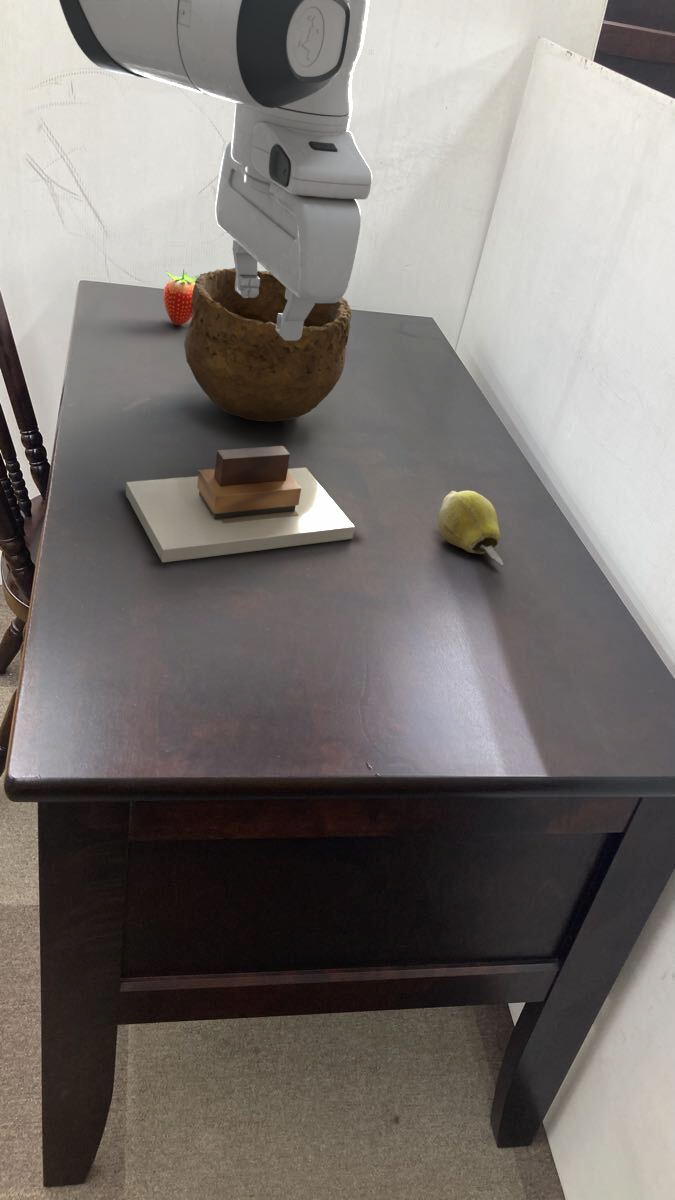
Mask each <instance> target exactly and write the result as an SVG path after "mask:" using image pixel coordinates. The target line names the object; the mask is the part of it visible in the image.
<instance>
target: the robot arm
mask: <svg viewBox="0 0 675 1200" xmlns="http://www.w3.org/2000/svg"><path fill="white" fill-rule="evenodd" d="M58 1H59V4H60V8H61V10H62V14H63V16H64V19H65V21H66V24H67V27H68V29H69V31H70V33H71V35H72V37H73V39H74V41H75V42H76V44H77V46H78V48H79V49H80V50H81V52H82V53H83V54H84V55H85V56H86V57H87V59H88V60H89V61H90V62H91V63H93V64H94V65H95V66H96V67H99V68H100V69H102V70H104V71H107V72H110V73H115V74H121V75H126V76H132V77H136V78H137V77H138V78H142V79H143V78H144V79H152V80H155V81H158V82H162V83H166V84H169V85H172V86H175V87H179V88H182V89H186V90H190V91H192V92H195V93H199V94H202V95H206V96H210V97H215V98H219V99H222V100H225V101H228V102H232V103H234V104H235V108H234V119H233V127H232V138H231V141H229V142H227V144H226V145H225V148H224V151H223V154H222V160H221V164H220V170H219V175H218V183H217V190H216V198H215V206H214V207H215V208H214V211H215V219H216V224H217V226H218V227H219V228H221V229H222V230H223V231H224V232H225V233H226V234H227V235H228V236H229V237H230V238H231V239H232V255H233V262H234V268H235V270H236V280H235V290H236V291H237V292H238V294H240V295H241V296H242V297H243V298H248V297H249V298H256V297H257V296H258V294H259V286H260V278H259V277H258V276H257V270H258V263H259V264H260V266H262V267H263V268H264V270H265V271H268V272H270V273H271V274H272V275H273V276H274V277H275V278H276V279H277V280H278V281H279V282H281V283H282V284H283V285H284V286H285V287H286V291H285V299H286V300H288V301H287V304H286V306H285V309H284V311H283V313H278V315H277V325H276V332H277V333H278V334H279V335H280V336H281V337H282V338H283V339H284V340H285V341H296V340H299V339H300V338H301V336H302V330H303V324H304V320H305V319H306V318H307V316H308V314H309V313H310V311H311V310H312V308H313V307H314V305H315V303H337V302H338V301H339V300H340V299H341V298H342V297H343V296H344V295H345V294H346V293H347V290H348V288H349V285H350V281H351V277H352V273H353V267H354V264H355V259H356V254H357V249H358V243H359V238H360V232H361V221H362V217H361V216H362V215H361V208H360V205H359V203H358V201H357V200H367V199H368V198H369V195H370V192H371V189H372V183H373V173H372V170H371V168H370V166H369V165H368V163H367V162H366V160H365V158H364V157H363V154H362V153H361V152H360V150H359V148H358V146H357V143H356V141H355V137H354V135H353V133H352V132H351V131H350V130H349V129H350V124H351V123H350V122H351V117H352V112H353V98H352V80H353V73H354V71H355V67H356V64H357V63H358V59H359V57H360V55H361V52H362V49H363V47H364V41H365V34H366V28H367V22H368V15H369V14H368V13H369V6H370V0H58Z"/></svg>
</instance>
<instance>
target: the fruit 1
mask: <svg viewBox="0 0 675 1200" xmlns="http://www.w3.org/2000/svg"><path fill="white" fill-rule="evenodd" d="M165 273H166V275H167V276H168V277H169V278H171V279H170V280H169V281H168V282H166V283H165V286H164V288H163V295H162V297H163V298H162V299H163V303H164V308H165V311H166V314H167V316H168V318H169V320H170V321H171V322H172V324H174V326H175V325H176V326H182V325H185V324H186V323H187V322H189V321H191V320H192V317H193V312H192V293H193V289H194V285H195V281H196V279H197V278H198V277H199V276H200V274H197V275H195V276H193V277H189V276H188V272H185V269H184V268H183V270H182V276H175V275H172V274H170V273H169V272H168V271H166V272H165Z"/></svg>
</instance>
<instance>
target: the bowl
mask: <svg viewBox="0 0 675 1200" xmlns="http://www.w3.org/2000/svg"><path fill="white" fill-rule="evenodd" d="M257 276H258V277H259V278H260V286H259V294H258V296H257V297H256V298H249V297H248V298H243V297H242V296H241V295H240V294H238V292H237V291H236V290H235V280H236V270H235V267H233V268H223V269H216V270H214V271H212V270H211V271H210V270H209V271H208V272H204V273H200V274H199V276H198V277H197V278H195V280H196V281H195V285H194V289H193V293H192V312H193V316H192V318H191V319H190V323H189V324H188V326H187V328H186V332H185V336H184V344H183V345H184V354H185V359H186V363H187V365H188V366H189V368H190V371H191V373H192V375H193V377H194V379H195V381H196V382H197V384H198V385H199V387H200V388H201V390H202V391H203V392H204V394H205V395H206V396H207V397H208V398H209V399H210V401H211V402H212V403H213V404H214V405H216V406H217V407H218V408H220V409H221V410H222V411H224V412H226V413H227V414H229V415H233V416H235V417H236V416H237V417H241V418H243V419H245V420H250V421H260V422H280V421H288V420H293V419H297V418H300V417H301V416H304V415H307V414H308V413H310V412H311V411H312V410H313V409H315V408H317V406H318V405H319V404H321V402H322V401H323V400H324V399H326V397H328V396H329V394H330V393H331V392H332V391H333V389H334V388H335V386H336V385H337V383H338V382H339V381H340V378H341V376H342V374H343V372H344V368H345V364H346V359H347V358H346V357H347V348H346V347H347V345H348V340H349V333H350V329H351V320H352V311H351V309H352V308H351V306H350V304H349V303H348V301H347V300H346V299H345V298H344V297H343V296H342V298H341V299H340V300H339V301H338V302H337V303H315V305H314V307H313V308H312V310H311V311H310V313H309V314H308V316H307V318H306V319H305V320H304V324H303V330H302V336H301V338H300V339H299V340H296V341H285V340H284V339H283V338H282V337H281V336H280V335H279V334H278V333H277V332H276V325H277V315H278V313H283V311H284V309H285V306H286V304H287V301H288V300H286V299H285V291H286V287H285V286H284V285H283V284H282V283H281V282H279V281H278V280H277V279H276V278H275V277H274V276H273V275H272V274H271V273H270V272H269V271H267V270H262V271H260V270H258V269H257Z"/></svg>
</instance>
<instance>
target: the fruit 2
mask: <svg viewBox="0 0 675 1200" xmlns="http://www.w3.org/2000/svg"><path fill="white" fill-rule="evenodd" d="M441 504H442V506H441V508H440V510H439V511H438V514H437V520H436V521H437V523H436V524H437V527H438V529H439V532H440V533H441V535H442V538H444V540H445V541H446V542H447V543H449V544H450V545H453V546H455V547H458V548H461V549H463V550H464V551H466V552H467V553H470V554H477V555H484V554H485V553H486V554H488V556H489V557H490V558H491V559H492V560H493V561H495V562H496V563H497V564H498V565H499V566H500V567H504V562H503V561H502V559H501V557H500V556H499V554H498V553H497V551H496V550H494V549H495V548H496V547H497V546H498V545H499V544H500V541H501V533H500V530H499V521H498V515H497V512H496V509H495V507H494V505H493V503H492V502H491V501H490V500H489V499H487V498H486V497H485V496H483V495H482V494H480V493H478V492H476V491H474V490H461V491H456V490H451V491H450V492H449V493H448V494H446V496H445V497H444V498H443V499H442V503H441Z"/></svg>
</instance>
